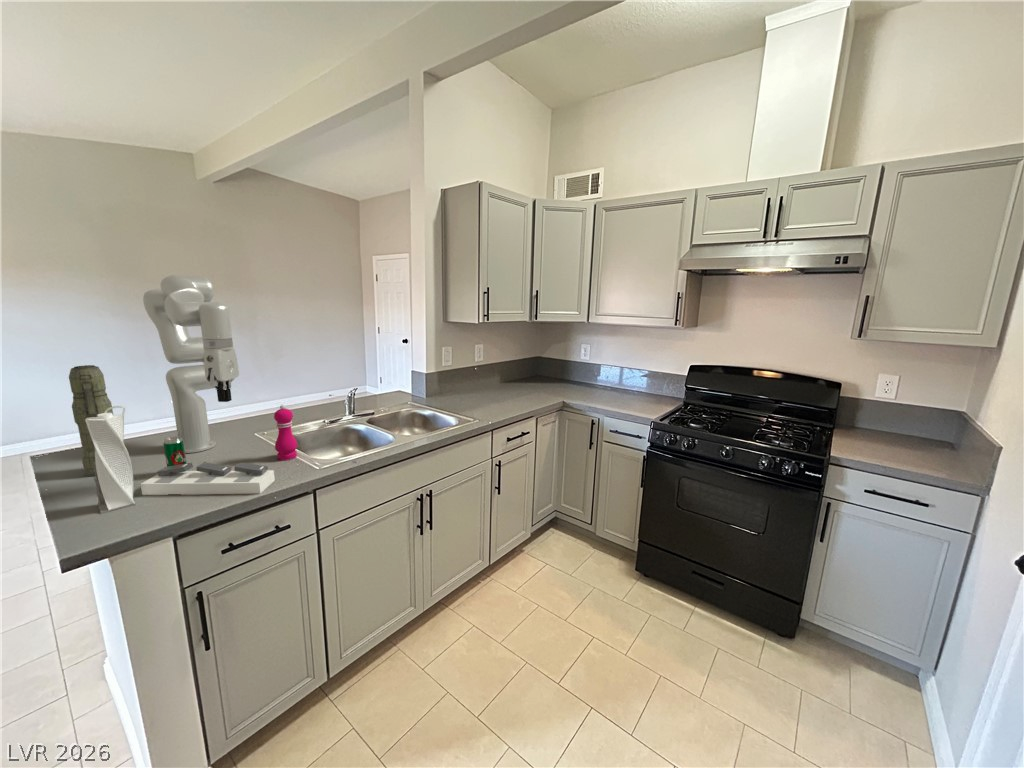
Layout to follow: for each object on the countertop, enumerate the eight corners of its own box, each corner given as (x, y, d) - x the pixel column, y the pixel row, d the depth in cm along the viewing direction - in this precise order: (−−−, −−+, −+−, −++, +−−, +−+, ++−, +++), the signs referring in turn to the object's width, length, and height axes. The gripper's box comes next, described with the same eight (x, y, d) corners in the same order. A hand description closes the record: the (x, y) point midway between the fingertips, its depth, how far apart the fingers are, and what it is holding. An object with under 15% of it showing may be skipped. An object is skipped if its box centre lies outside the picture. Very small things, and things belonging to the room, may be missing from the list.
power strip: (142, 494, 119) (140, 483, 118) (165, 481, 128) (163, 470, 127) (260, 493, 122) (259, 482, 122) (274, 480, 131) (273, 469, 130)
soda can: (171, 470, 136) (166, 436, 133) (190, 468, 137) (185, 435, 135) (165, 476, 131) (159, 441, 129) (184, 474, 133) (179, 440, 130)
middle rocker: (196, 472, 124) (196, 466, 124) (203, 467, 127) (204, 461, 127) (223, 477, 125) (224, 471, 125) (230, 472, 129) (231, 466, 128)
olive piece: (88, 480, 127) (66, 370, 120) (82, 470, 134) (61, 365, 127) (126, 471, 134) (107, 367, 127) (119, 462, 141) (101, 362, 134)
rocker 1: (158, 477, 123) (156, 471, 123) (167, 472, 127) (165, 466, 126) (185, 473, 124) (183, 467, 123) (193, 468, 127) (191, 462, 127)
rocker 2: (234, 472, 125) (234, 466, 125) (240, 467, 128) (241, 462, 128) (261, 476, 126) (262, 470, 126) (267, 471, 130) (267, 465, 129)
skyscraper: (138, 494, 119) (122, 402, 114) (143, 504, 114) (126, 408, 108) (98, 504, 113) (79, 408, 107) (101, 515, 108) (81, 414, 102)
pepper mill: (293, 452, 155) (288, 401, 150) (301, 457, 150) (297, 404, 146) (272, 457, 149) (267, 404, 145) (281, 462, 145) (275, 408, 140)
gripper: (216, 347, 119) (223, 407, 123) (244, 341, 134) (250, 395, 137) (188, 346, 118) (196, 407, 122) (220, 341, 133) (226, 395, 137)
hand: (224, 401), depth 130 cm, fingers closed
